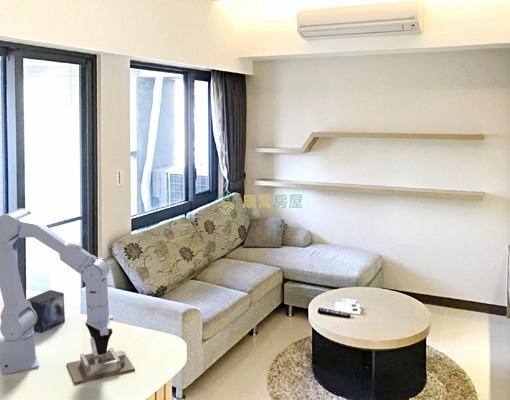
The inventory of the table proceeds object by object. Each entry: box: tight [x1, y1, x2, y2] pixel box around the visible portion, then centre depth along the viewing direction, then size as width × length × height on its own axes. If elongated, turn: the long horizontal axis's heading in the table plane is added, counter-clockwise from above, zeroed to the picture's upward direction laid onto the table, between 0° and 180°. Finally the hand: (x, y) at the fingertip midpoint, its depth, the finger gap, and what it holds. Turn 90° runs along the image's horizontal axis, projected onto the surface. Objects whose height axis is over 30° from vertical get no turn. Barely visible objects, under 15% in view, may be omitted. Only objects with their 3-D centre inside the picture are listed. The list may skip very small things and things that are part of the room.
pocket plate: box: [66, 347, 136, 385], centre depth 152 cm, size 16×12×3 cm
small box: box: [26, 289, 66, 334], centre depth 179 cm, size 11×6×10 cm, turn 155°
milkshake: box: [90, 336, 107, 365], centre depth 151 cm, size 4×5×10 cm
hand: (99, 350), depth 151 cm, fingers closed on milkshake, 4 cm apart
